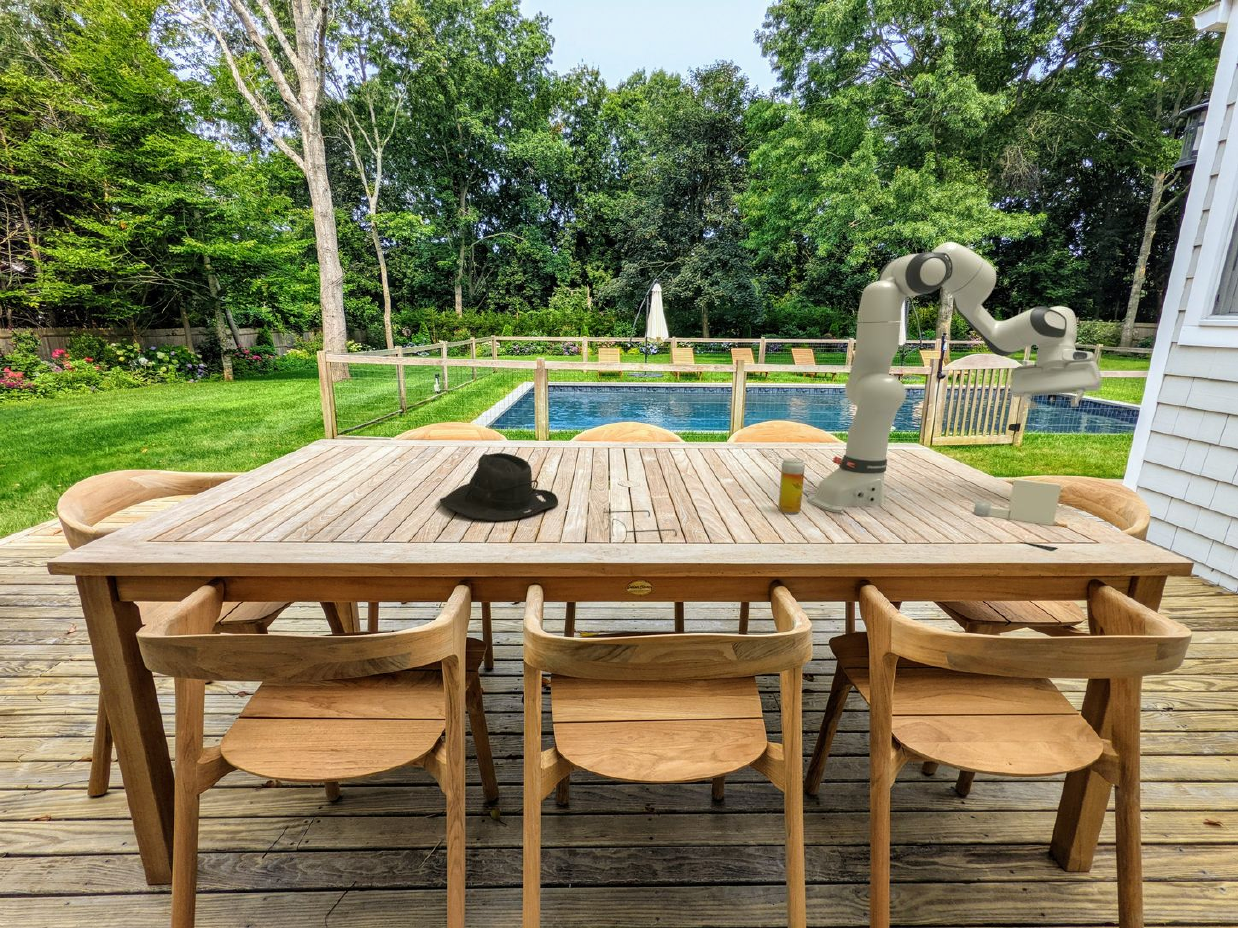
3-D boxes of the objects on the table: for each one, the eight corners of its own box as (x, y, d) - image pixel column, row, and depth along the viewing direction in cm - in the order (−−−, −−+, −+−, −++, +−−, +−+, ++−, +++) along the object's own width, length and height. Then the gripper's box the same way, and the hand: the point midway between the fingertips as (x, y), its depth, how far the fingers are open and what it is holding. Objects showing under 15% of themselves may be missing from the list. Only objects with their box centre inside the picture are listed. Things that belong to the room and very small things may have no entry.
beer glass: (801, 515, 155) (806, 463, 152) (778, 513, 156) (783, 461, 153) (798, 509, 161) (803, 458, 157) (777, 507, 162) (781, 457, 158)
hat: (525, 482, 184) (524, 440, 181) (575, 512, 155) (576, 462, 152) (427, 496, 168) (424, 449, 164) (463, 531, 139) (460, 476, 135)
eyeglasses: (598, 524, 147) (598, 505, 145) (649, 518, 152) (650, 500, 151) (621, 545, 132) (621, 525, 131) (677, 537, 138) (677, 518, 136)
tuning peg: (973, 514, 154) (980, 476, 152) (973, 511, 157) (979, 473, 155) (1068, 528, 144) (1076, 488, 142) (1065, 524, 147) (1074, 484, 145)
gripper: (1008, 362, 163) (1005, 406, 160) (1100, 351, 148) (1098, 399, 145) (1014, 372, 167) (1010, 414, 164) (1103, 362, 152) (1101, 408, 149)
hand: (1052, 407), depth 155 cm, fingers open, 8 cm apart
